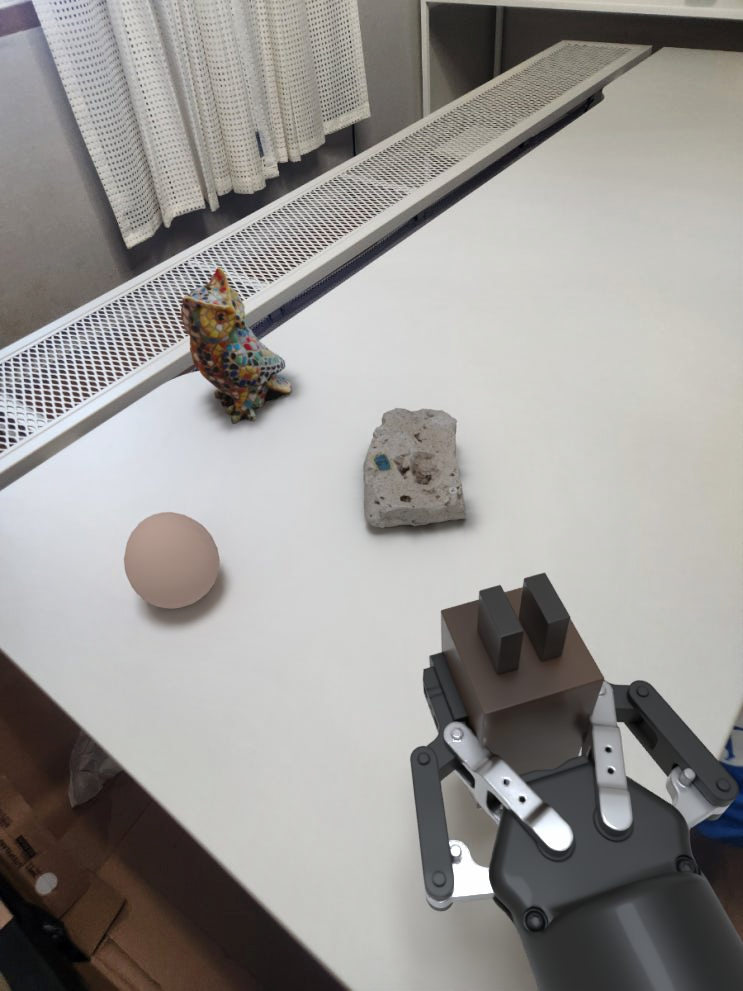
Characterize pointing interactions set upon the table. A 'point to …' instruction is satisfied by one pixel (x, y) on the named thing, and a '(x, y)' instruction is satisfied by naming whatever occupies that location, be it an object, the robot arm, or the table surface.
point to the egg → (171, 560)
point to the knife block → (522, 674)
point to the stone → (413, 470)
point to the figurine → (231, 350)
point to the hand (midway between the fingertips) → (491, 646)
